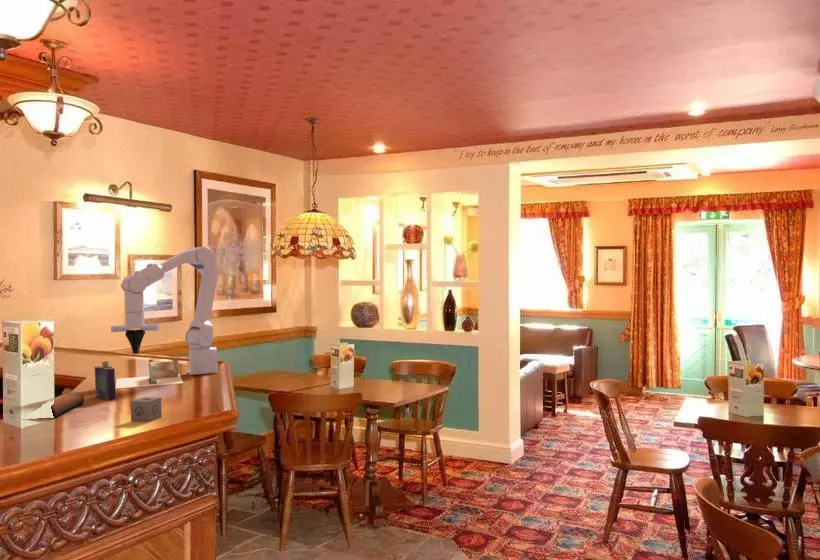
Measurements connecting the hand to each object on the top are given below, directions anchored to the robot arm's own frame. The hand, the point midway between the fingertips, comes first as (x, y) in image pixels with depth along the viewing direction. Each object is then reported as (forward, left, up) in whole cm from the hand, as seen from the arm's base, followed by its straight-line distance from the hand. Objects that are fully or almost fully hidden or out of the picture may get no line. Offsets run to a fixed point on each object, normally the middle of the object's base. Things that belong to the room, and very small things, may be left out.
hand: (136, 353), depth 222 cm
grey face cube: (-2, +61, -10) cm, 62 cm away
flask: (+8, +26, -10) cm, 29 cm away
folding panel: (-5, +2, -9) cm, 10 cm away
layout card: (-4, +1, -9) cm, 10 cm away
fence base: (-8, -4, -9) cm, 13 cm away
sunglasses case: (+20, +40, -10) cm, 46 cm away
